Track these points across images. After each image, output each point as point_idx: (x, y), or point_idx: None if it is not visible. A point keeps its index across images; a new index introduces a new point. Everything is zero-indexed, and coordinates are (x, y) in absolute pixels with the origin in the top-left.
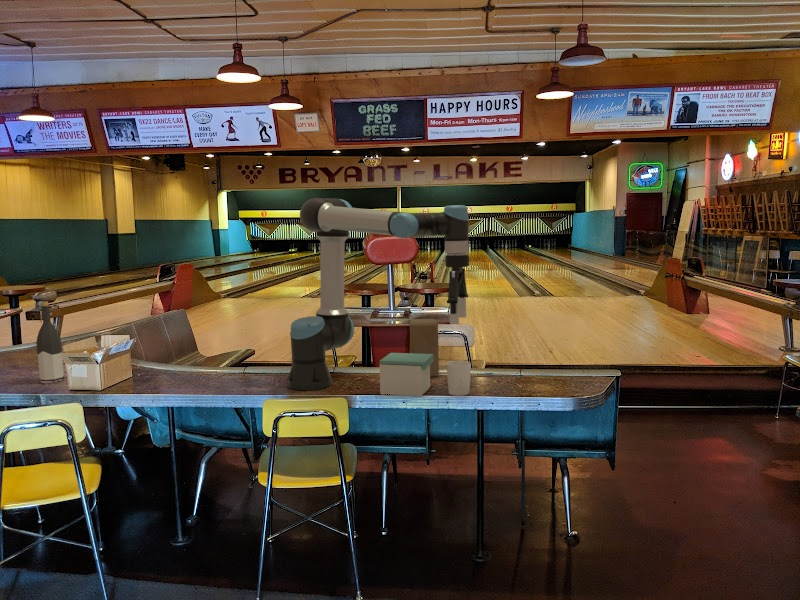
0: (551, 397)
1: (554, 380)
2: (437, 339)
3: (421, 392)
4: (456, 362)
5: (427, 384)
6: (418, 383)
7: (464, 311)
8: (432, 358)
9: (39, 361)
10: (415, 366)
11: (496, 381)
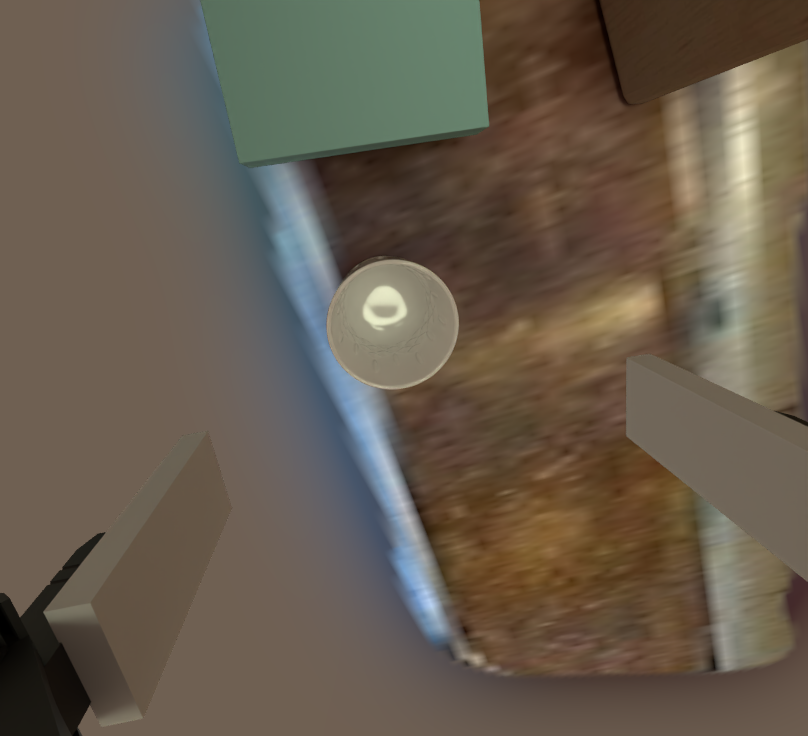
0: (433, 587)
1: (641, 547)
2: (786, 40)
3: None
4: (444, 294)
5: None
6: None
7: (665, 454)
8: (459, 133)
9: None
10: None
11: (593, 379)
